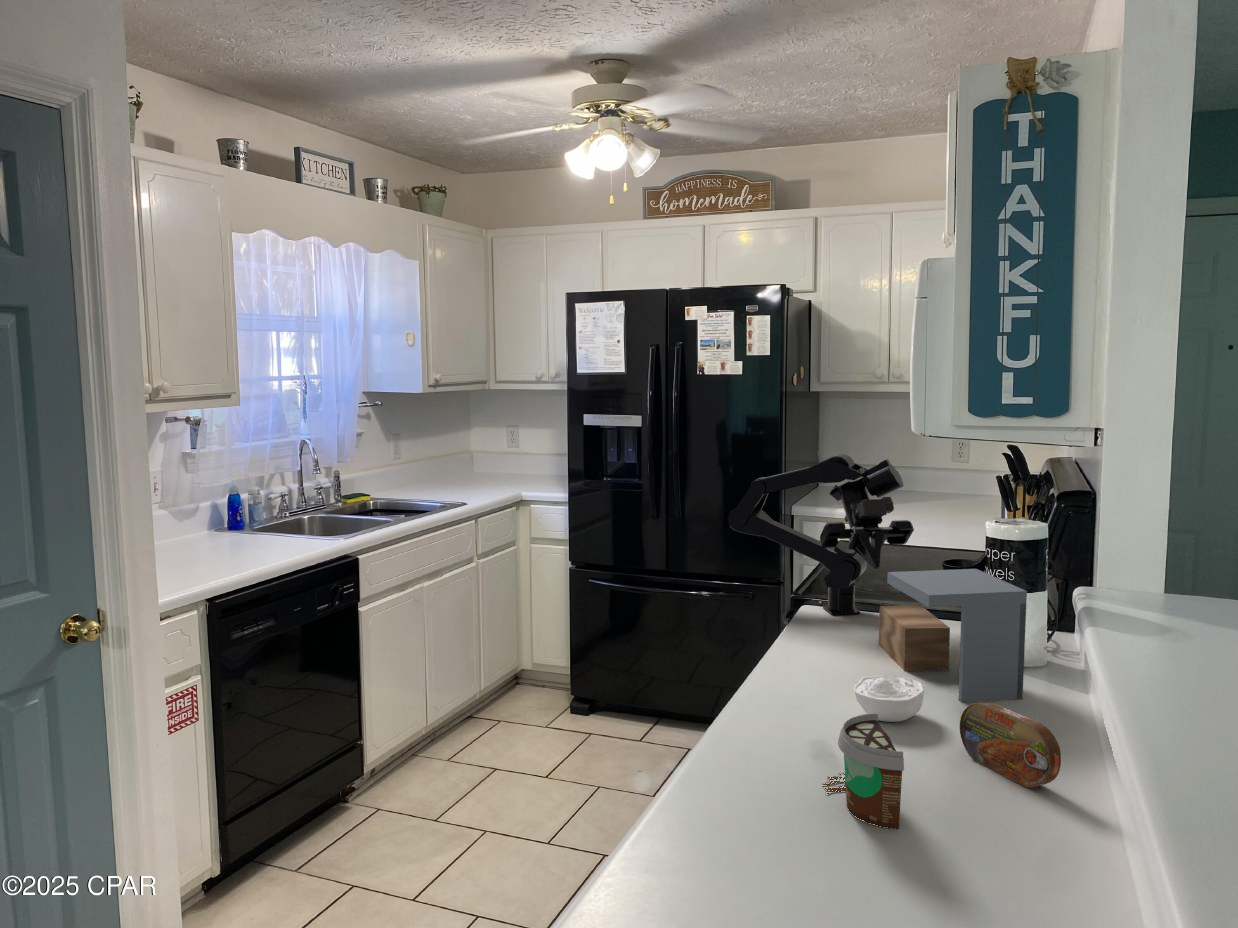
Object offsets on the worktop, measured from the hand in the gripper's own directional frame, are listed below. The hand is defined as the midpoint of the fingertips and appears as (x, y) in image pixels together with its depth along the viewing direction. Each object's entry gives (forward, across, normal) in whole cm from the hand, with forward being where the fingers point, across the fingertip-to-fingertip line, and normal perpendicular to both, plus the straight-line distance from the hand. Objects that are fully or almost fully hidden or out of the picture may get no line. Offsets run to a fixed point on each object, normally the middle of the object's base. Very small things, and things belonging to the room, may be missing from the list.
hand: (877, 567), depth 181 cm
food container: (+59, -31, -40) cm, 78 cm away
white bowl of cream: (+40, -16, -21) cm, 48 cm away
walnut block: (+22, 0, -3) cm, 22 cm away
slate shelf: (+32, 0, -13) cm, 34 cm away
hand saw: (+49, -30, -30) cm, 65 cm away
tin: (+54, -8, -36) cm, 65 cm away
